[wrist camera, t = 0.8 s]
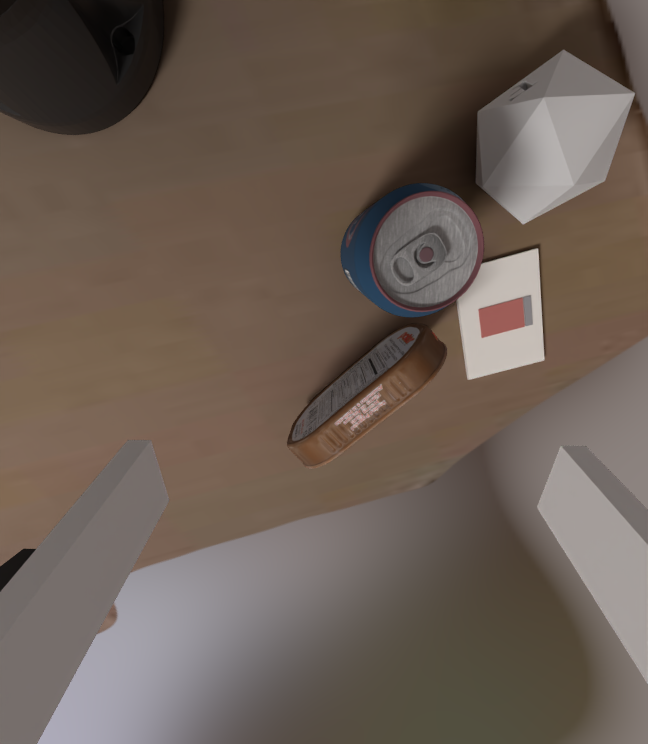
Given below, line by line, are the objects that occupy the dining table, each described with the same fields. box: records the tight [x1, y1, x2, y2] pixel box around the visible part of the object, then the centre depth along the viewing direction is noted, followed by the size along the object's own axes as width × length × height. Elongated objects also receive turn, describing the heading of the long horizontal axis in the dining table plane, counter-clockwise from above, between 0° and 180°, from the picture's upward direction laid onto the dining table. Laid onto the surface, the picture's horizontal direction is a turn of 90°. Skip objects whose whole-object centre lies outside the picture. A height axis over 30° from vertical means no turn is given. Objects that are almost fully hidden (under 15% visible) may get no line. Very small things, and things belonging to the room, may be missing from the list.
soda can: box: [341, 183, 484, 317], centre depth 23 cm, size 7×7×12 cm
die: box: [476, 50, 635, 224], centre depth 23 cm, size 8×9×10 cm
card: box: [456, 248, 544, 380], centre depth 30 cm, size 10×7×1 cm
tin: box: [287, 323, 447, 469], centre depth 28 cm, size 15×3×8 cm, turn 132°
